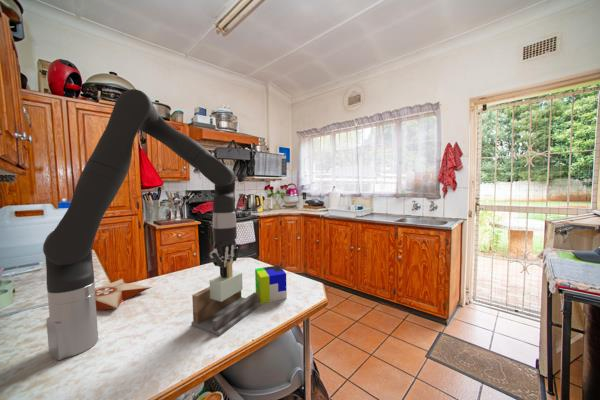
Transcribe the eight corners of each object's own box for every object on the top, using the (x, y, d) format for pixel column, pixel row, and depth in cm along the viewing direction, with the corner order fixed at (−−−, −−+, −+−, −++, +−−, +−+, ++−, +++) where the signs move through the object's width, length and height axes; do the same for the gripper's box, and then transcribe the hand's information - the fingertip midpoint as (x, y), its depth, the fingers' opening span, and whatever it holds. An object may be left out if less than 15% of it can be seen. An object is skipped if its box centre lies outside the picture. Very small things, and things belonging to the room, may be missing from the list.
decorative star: (132, 271, 112) (160, 287, 94) (132, 280, 112) (161, 297, 94) (43, 294, 89) (58, 321, 71) (44, 305, 89) (59, 334, 71)
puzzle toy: (286, 298, 92) (286, 273, 92) (261, 303, 89) (260, 277, 88) (279, 288, 102) (278, 265, 101) (255, 292, 98) (255, 268, 97)
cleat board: (219, 335, 70) (218, 302, 69) (191, 325, 75) (190, 294, 75) (260, 304, 88) (260, 278, 87) (235, 298, 93) (234, 273, 92)
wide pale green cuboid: (221, 301, 76) (220, 267, 75) (210, 298, 78) (208, 265, 77) (242, 289, 85) (241, 258, 84) (231, 286, 87) (230, 256, 86)
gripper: (217, 229, 72) (219, 285, 73) (246, 223, 84) (248, 271, 85) (199, 228, 75) (202, 281, 77) (230, 221, 88) (232, 268, 89)
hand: (226, 275), depth 81 cm, fingers closed on wide pale green cuboid, 1 cm apart
